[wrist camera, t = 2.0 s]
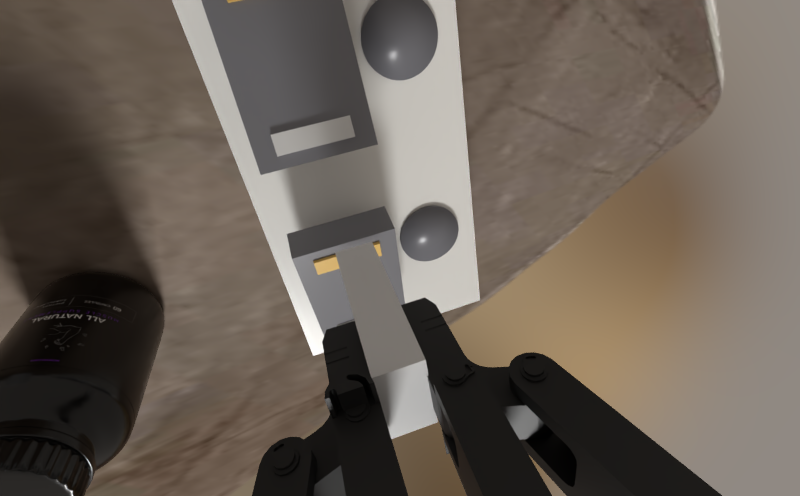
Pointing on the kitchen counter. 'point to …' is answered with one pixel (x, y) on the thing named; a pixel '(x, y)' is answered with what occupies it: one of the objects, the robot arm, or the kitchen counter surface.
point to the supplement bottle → (74, 381)
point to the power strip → (374, 152)
